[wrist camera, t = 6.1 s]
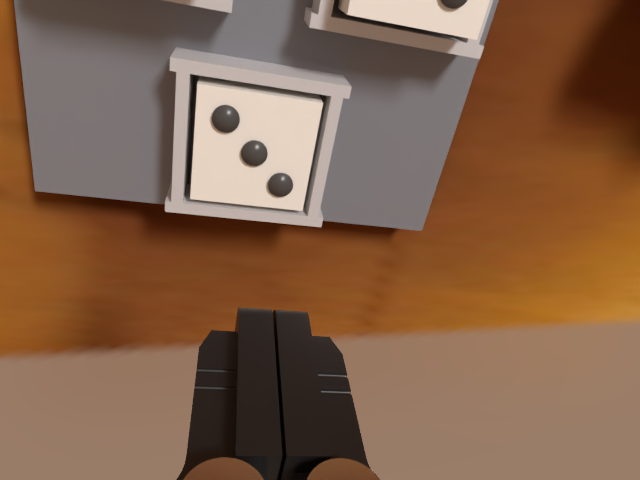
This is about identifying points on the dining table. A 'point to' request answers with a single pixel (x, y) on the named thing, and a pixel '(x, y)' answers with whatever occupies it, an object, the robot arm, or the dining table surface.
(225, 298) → the dining table surface
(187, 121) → the button board
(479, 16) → the button two
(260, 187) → the button three
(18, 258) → the dining table surface
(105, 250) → the dining table surface
